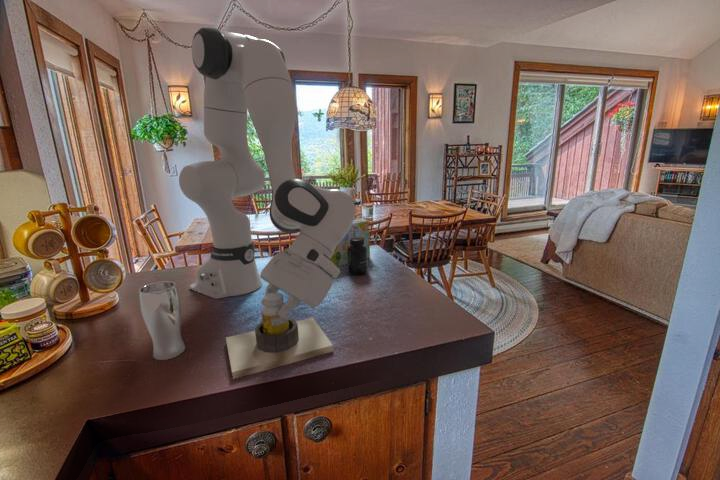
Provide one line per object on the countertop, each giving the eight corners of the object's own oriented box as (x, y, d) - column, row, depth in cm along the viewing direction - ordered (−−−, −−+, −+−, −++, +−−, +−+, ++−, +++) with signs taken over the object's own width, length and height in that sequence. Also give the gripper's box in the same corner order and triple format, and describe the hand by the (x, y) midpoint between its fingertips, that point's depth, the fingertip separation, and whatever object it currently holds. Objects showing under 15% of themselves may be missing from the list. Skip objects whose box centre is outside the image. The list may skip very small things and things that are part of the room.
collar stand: (233, 379, 65) (229, 355, 63) (226, 343, 77) (223, 323, 76) (333, 351, 73) (332, 330, 72) (312, 323, 85) (311, 304, 84)
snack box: (361, 255, 139) (360, 218, 135) (370, 258, 135) (369, 220, 131) (316, 267, 126) (314, 227, 122) (325, 271, 122) (323, 229, 118)
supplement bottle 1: (292, 341, 73) (288, 298, 71) (266, 346, 71) (261, 303, 69) (287, 329, 78) (283, 289, 75) (262, 334, 76) (258, 293, 73)
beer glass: (162, 365, 70) (148, 296, 66) (144, 355, 73) (130, 289, 70) (194, 348, 75) (183, 284, 72) (175, 340, 79) (164, 278, 75)
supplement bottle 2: (365, 276, 115) (364, 241, 112) (345, 275, 117) (344, 241, 114) (369, 269, 122) (368, 236, 119) (350, 268, 123) (349, 236, 120)
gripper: (275, 239, 82) (240, 289, 78) (326, 258, 67) (285, 321, 63) (293, 253, 86) (260, 302, 82) (345, 274, 71) (308, 334, 67)
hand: (271, 310), depth 72 cm, fingers closed on supplement bottle 1, 5 cm apart
